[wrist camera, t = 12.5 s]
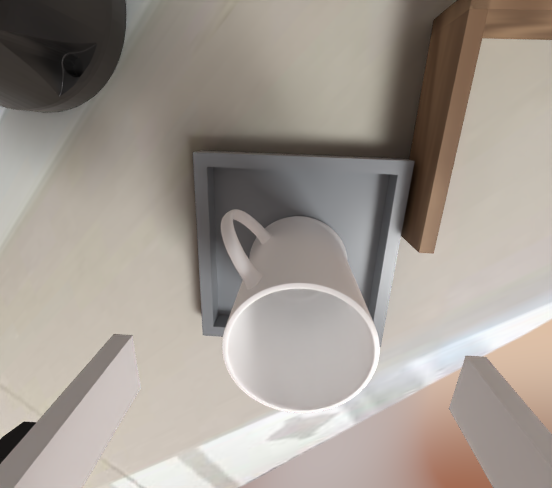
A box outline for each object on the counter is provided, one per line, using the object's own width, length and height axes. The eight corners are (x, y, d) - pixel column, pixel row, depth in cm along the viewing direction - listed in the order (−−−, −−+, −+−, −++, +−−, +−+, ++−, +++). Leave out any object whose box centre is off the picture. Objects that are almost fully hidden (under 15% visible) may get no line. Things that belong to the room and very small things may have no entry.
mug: (209, 215, 26) (142, 275, 14) (296, 161, 24) (297, 182, 13) (281, 319, 29) (272, 437, 17) (363, 278, 27) (413, 381, 16)
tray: (210, 319, 30) (202, 335, 28) (202, 150, 25) (192, 152, 22) (373, 329, 29) (380, 346, 27) (402, 158, 24) (414, 160, 22)
